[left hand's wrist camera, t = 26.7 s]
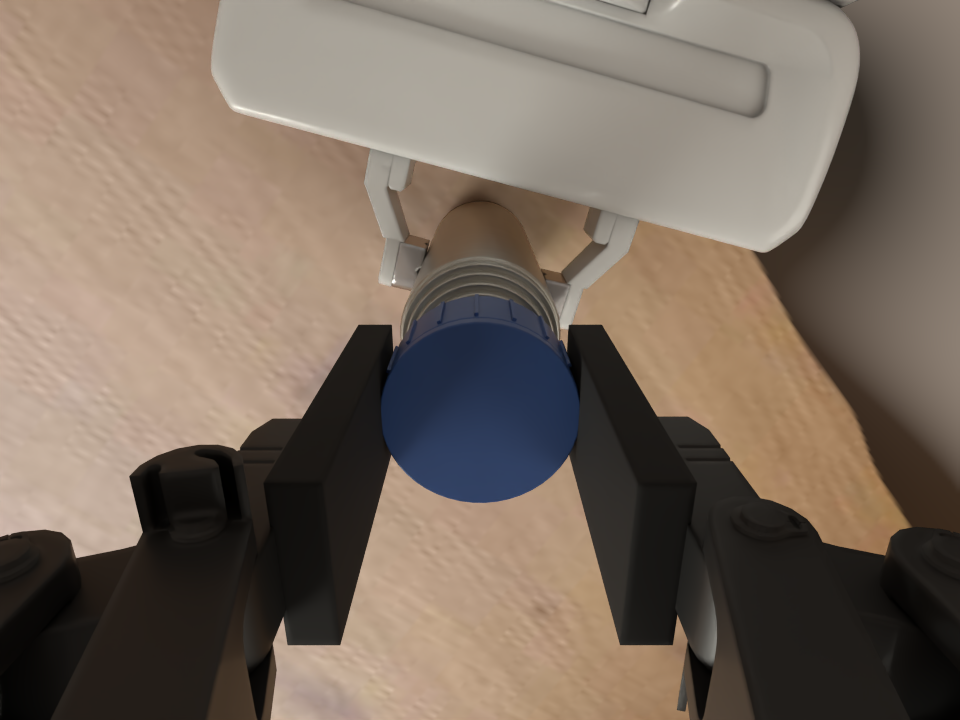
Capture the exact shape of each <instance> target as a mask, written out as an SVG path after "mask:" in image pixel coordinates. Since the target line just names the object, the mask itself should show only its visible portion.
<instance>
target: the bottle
mask: <svg viewBox="0 0 960 720" xmlns="http://www.w3.org/2000/svg"><path fill="white" fill-rule="evenodd" d="M475 294H479V296H490V297H497V298H502V299H505V300H510V299H513V301H514V302H515V303H517V304H519V305H522V306H524V307H525V308H527V309H529V310H531V311H532V312H534V313H535V314H536V315H537V316H540V315H541V316H542V317H543V319H544V322H545V323H546V324H547V325H548V326H549V327H550V328H551V329H552V331H553V332H554V333H555V335H556V336H557V338H558V340H559V341H560V322H559V316H558V312H557V309H556V306H555V304H554V301H553V299H552V296H551V294H550V291H549V289H548V287H547V284H546V282H545V279H544V277H543V274H542V272H541V270H540V267H539V265H538V262H537V260H536V257H535V255H534V253H533V250H532V248H531V245H530V243H529V240H528V238H527V236H526V233H525V231H524V229H523V227H522V225H521V223H520V222H519V220H518V219H517V218H516V217H515V216H514V215H513V214H512V213H511V212H510V211H508V210H507V209H506V208H504V207H502V206H500V205H498V204H495V203H491V202H485V201H476V202H470V203H466V204H463V205H461V206H459V207H457V208H455V209H454V210H452V211H451V212H449V213H448V214H447V215H446V216H445V217H444V219H443V220H442V221H441V223H440V224H439V226H438V228H437V230H436V232H435V235H434V237H433V239H432V242H431V244H430V247H429V249H428V252H427V254H426V257H425V259H424V261H423V264H422V266H421V269H420V271H419V273H418V276H417V278H416V281H415V283H414V285H413V288H412V290H411V293H410V295H409V298H408V300H407V302H406V305H405V308H404V311H403V314H402V319H401V325H400V338H401V341H402V339H403V337H404V336H405V334H406V333H407V331H408V330H409V329H410V328H411V325H412V322H413V321H414V320H416V321H417V320H418V319H419V318H420V317H422V316H423V315H424V314H426V313H427V312H428V311H430V310H432V309H433V308H435V307H437V306H439V305H440V304H441V302H443V301H444V302H445V303H446V302H449V301H451V300H455V299H459V298H463V297H472V296H475Z"/></svg>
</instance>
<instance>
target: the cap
mask: <svg viewBox="0 0 960 720" xmlns="http://www.w3.org/2000/svg"><path fill="white" fill-rule="evenodd" d="M571 366H572V365H571V362H570V359H569V357H568V354H567V352H566V349H565V346H564V344H563V341H562V340H561V341H559V340H558V338H557V336H556V335H555V333H554V332H553V331H552V329H551V328H550V327H549V326H548V325H547V324H546V323H545V322H544V319H543V317H542V316H541V315H540V316H537V315H536V314H535V313H534V312H532V311H531V310H529V309H527V308H525V307H524V306H522V305H519V304H517V303H515V302H514V301H513V299H510V300H505V299H502V298H497V297H490V296H479V294H475V296H472V297H463V298H459V299H455V300H451V301H449V302H446V303H445V302H444V301H443V302H441V304H440V305H439V306H437V307H435V308H433V309H432V310H430V311H428V312H427V313H426V314H424V315H423V316H422V317H420V318H419V319H418V320H417V321H416V320H414V321H413V322H412V325H411V328H410V329H409V330H408V331H407V333H406V334H405V336H404V337H403V339H402V341H401V342H400V344H399V347H398V346H396V347H395V349H394V352H393V354H392V357H391V360H390V362H389V365H388V368H387V370H386V373H388V376H387V379H386V382H385V384H384V387H383V391H382V395H381V416H382V431H383V437H384V439H385V442H386V445H387V447H388V449H389V451H390V453H391V455H392V456H393V458H394V459H395V461H396V462H397V463H398V465H399V466H400V467H401V468H402V469H403V470H404V472H405V473H406V474H407V475H408V476H410V477H411V478H412V479H413V480H414V481H416V482H417V483H418V484H420V485H421V486H423V487H425V488H426V489H428V490H430V491H432V492H434V493H436V494H438V495H441V496H444V497H447V498H450V499H454V500H458V501H464V502H472V503H487V502H497V501H502V500H507V499H511V498H514V497H517V496H520V495H522V494H524V493H526V492H529V491H531V490H533V489H534V488H536V487H538V486H539V485H541V484H542V483H544V482H545V481H546V480H547V479H549V478H550V477H551V476H552V475H553V474H554V473H555V472H556V471H557V470H558V469H559V468H560V467H561V465H562V464H563V463H564V461H565V460H566V459H567V457H568V455H569V454H570V452H571V450H572V448H573V446H574V444H575V441H576V438H577V435H578V423H579V407H580V397H579V393H578V389H577V386H576V383H575V380H574V378H573V375H572V372H571V369H570V367H571Z"/></svg>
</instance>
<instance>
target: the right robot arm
mask: <svg viewBox="0 0 960 720" xmlns="http://www.w3.org/2000/svg"><path fill="white" fill-rule="evenodd" d="M855 1H857V0H220V3H219V8H218V14H217V20H216V26H215V33H214V40H213V47H212V56H211V72H212V75H213V78H214V80H215V82H216V84H217V86H218V88H219V89H220V91H221V93H222V95H223V97H224V99H225V100H226V102H227V104H228V105H229V107H230V108H231V109H232V110H233V111H235V112H237V113H240V114H244V115H247V116H251V117H255V118H259V119H262V120H266V121H270V122H274V123H277V124H281V125H285V126H289V127H292V128H296V129H300V130H304V131H307V132H311V133H315V134H319V135H322V136H326V137H330V138H334V139H337V140H341V141H345V142H349V143H352V144H356V145H360V146H364V147H367V148H370V152H369V158H368V164H367V169H366V175H365V180H364V184H365V187H366V190H367V192H368V195H369V198H370V201H371V204H372V207H373V210H374V213H375V216H376V218H377V221H378V224H379V227H380V230H381V233H382V236H383V237H384V238H386V243H385V248H384V253H383V258H382V263H381V268H380V273H379V283H380V284H383V285H387V286H390V287H391V286H392V287H396V288H400V289H405V290H409V291H411V290H412V288H413V285H414V283H415V281H416V278H417V276H418V273H419V271H420V269H421V266H422V264H423V261H424V259H425V257H426V254H427V250H428V246H429V241H430V240H427V239H424V238H420V237H416V236H413V235H409V234H410V233H409V230H408V227H407V223H406V220H405V217H404V213H403V210H402V207H401V203H400V200H399V197H398V193H397V191H402V190H403V189H405V188H406V187H407V186H408V185H410V184H411V180H412V175H413V171H414V166H415V162H416V161H420V162H424V163H427V164H431V165H435V166H439V167H442V168H446V169H450V170H454V171H457V172H461V173H465V174H469V175H472V176H476V177H480V178H484V179H488V180H491V181H495V182H499V183H503V184H506V185H510V186H514V187H518V188H521V189H525V190H529V191H533V192H536V193H540V194H544V195H548V196H551V197H555V198H559V199H563V200H566V201H570V202H574V203H578V204H581V205H585V206H589V207H590V209H589V212H588V215H587V219H586V222H585V226H584V231H585V233H586V234H587V235H588V236H589V237H590V238H591V239H592V240H593V241H592V242H591V243H590V244H589V245H588V246H587V247H586V248H585V249H584V250H583V251H582V252H581V253H580V254H579V255H578V256H577V257H576V258H575V259H574V260H573V261H572V262H571V263H570V264H569V265H568V266H567V267H566V268H565V269H564V270H563V271H562V272H561V273H558V272H554V271H549V270H545V269H541V272H542V274H543V277H544V279H545V282H546V284H547V287H548V289H549V291H550V294H551V296H552V299H553V301H554V304H555V306H556V309H557V312H558V316H559V322H560V328H561V329H565V330H568V328H569V325H572V322H573V319H574V316H575V313H576V310H577V307H578V304H579V301H580V298H581V295H582V292H583V289H584V288H585V289H587V288H589V287H590V286H591V285H592V284H593V283H594V282H595V281H596V280H597V279H599V278H600V277H601V276H602V275H603V274H604V273H605V272H606V271H608V270H609V269H610V268H611V267H612V266H613V265H614V264H615V263H616V262H618V261H619V260H620V259H621V258H622V257H623V256H624V255H625V254H626V253H628V251H629V248H630V245H631V242H632V239H633V237H634V234H635V231H636V228H637V225H638V222H639V220H641V221H645V222H649V223H653V224H656V225H660V226H664V227H668V228H671V229H675V230H679V231H683V232H686V233H690V234H694V235H698V236H701V237H705V238H709V239H713V240H716V241H720V242H724V243H728V244H731V245H735V246H739V247H743V248H747V249H750V250H754V251H758V252H768V251H770V250H772V249H773V248H775V247H777V246H778V245H780V244H781V243H783V242H784V241H785V240H787V239H788V238H789V237H791V236H792V235H794V234H795V233H796V232H797V231H798V230H799V229H800V228H801V227H802V225H803V224H804V222H805V220H806V219H807V217H808V215H809V213H810V211H811V209H812V206H813V204H814V202H815V200H816V197H817V195H818V193H819V190H820V188H821V186H822V183H823V181H824V178H825V176H826V173H827V171H828V168H829V166H830V163H831V160H832V158H833V155H834V152H835V149H836V147H837V144H838V141H839V138H840V135H841V132H842V129H843V127H844V123H845V120H846V117H847V114H848V111H849V108H850V105H851V101H852V98H853V95H854V91H855V87H856V83H857V79H858V72H859V65H860V47H859V40H858V36H857V33H856V30H855V27H854V25H853V23H852V22H851V20H850V19H849V17H848V16H847V15H846V14H845V13H844V11H842V10H841V9H840V8H842V7H844V6H847V5H849V4H851V3H853V2H855Z"/></svg>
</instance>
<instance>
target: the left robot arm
mask: <svg viewBox="0 0 960 720" xmlns="http://www.w3.org/2000/svg"><path fill="white" fill-rule="evenodd" d="M392 354H393V339H392V325H358V327H357V328H356V330H355V332H354V333H353V335H352V337H351V338H350V340H349V342H348V343H347V345H346V347H345V348H344V350H343V352H342V353H341V355H340V357H339V358H338V360H337V362H336V363H335V365H334V366H333V368H332V370H331V371H330V373H329V375H328V376H327V378H326V380H325V381H324V383H323V385H322V386H321V388H320V390H319V391H318V393H317V395H316V396H315V398H314V400H313V401H312V403H311V405H310V406H309V408H308V410H307V411H306V413H305V415H304V416H303V418H302V419H271V420H270V421H268V422H267V423H265V424H264V425H262V426H260V427H259V428H257V429H256V430H254V431H252V432H251V434H250V435H249V436H248V438H247V439H246V440H245V442H244V443H243V444H242V446H241V447H240V450H238V451H236V450H235V449H233V448H229V447H225V446H221V445H195V446H190V447H184V448H179V449H175V450H172V451H169V452H166V453H164V454H161V455H158V456H156V457H154V458H152V459H150V460H149V461H147V462H145V463H143V464H142V465H140V466H139V467H138V468H137V469H136V470H135V471H134V472H133V473H132V474H131V475H130V476H129V477H130V481H131V485H132V489H133V494H134V498H135V502H136V506H137V510H138V514H139V518H140V522H141V527H142V531H143V533H142V535H141V537H140V539H139V541H138V543H137V545H136V546H133V547H129V548H125V549H121V550H115V551H110V552H105V553H100V554H95V555H90V556H85V557H80V558H76V557H75V553H74V550H73V547H72V543H71V540H70V539H69V538H67V537H66V536H65V535H64V534H63V533H61V532H55V531H50V530H36V531H25V532H18V533H13V534H11V535H9V536H8V535H5V536H2V537H0V720H270V718H271V710H272V702H273V694H274V686H275V678H276V662H275V655H274V649H273V641H274V638H275V636H276V633H277V631H278V628H279V626H280V623H281V621H282V618H283V617H284V624H285V631H286V637H287V644H288V645H340V644H341V640H342V636H343V633H344V629H345V625H346V622H347V618H348V614H349V610H350V607H351V603H352V599H353V595H354V592H355V588H356V584H357V580H358V577H359V573H360V569H361V566H362V562H363V558H364V554H365V551H366V547H367V543H368V539H369V536H370V532H371V528H372V524H373V521H374V517H375V513H376V510H377V506H378V502H379V498H380V495H381V491H382V487H383V483H384V480H385V476H386V472H387V469H388V465H389V461H390V457H391V453H390V451H389V449H388V447H387V445H386V442H385V439H384V437H383V431H382V416H381V395H382V391H383V387H384V384H385V382H386V379H387V376H388V373H386V370H387V368H388V365H389V362H390V360H391V357H392ZM567 354H568V357H569V359H570V362H571V365H572V366H571V367H570V369H571V372H572V375H573V378H574V380H575V383H576V386H577V389H578V393H579V397H580V407H579V423H578V435H577V438H576V441H575V444H574V446H573V448H572V450H571V452H570V454H569V456H570V460H571V463H572V467H573V471H574V475H575V478H576V482H577V486H578V489H579V493H580V497H581V501H582V504H583V508H584V512H585V516H586V519H587V523H588V527H589V530H590V534H591V538H592V542H593V545H594V549H595V553H596V557H597V560H598V564H599V568H600V571H601V575H602V579H603V583H604V586H605V590H606V594H607V598H608V601H609V605H610V609H611V612H612V616H613V620H614V624H615V627H616V631H617V635H618V639H619V642H620V645H673V640H674V633H675V627H676V620H677V614H678V617H679V619H680V622H681V624H682V627H683V629H684V632H685V634H686V637H687V639H688V643H687V649H686V655H685V661H684V667H683V674H682V680H681V686H680V692H679V699H678V706H677V710H680V711H685V710H686V704H687V701H688V709H689V717H690V720H960V534H959V533H956V532H953V533H952V532H950V531H948V530H943V529H934V528H923V527H913V528H907V529H901V530H899V531H898V532H897V533H895V534H894V535H893V536H892V537H891V538H890V542H889V545H888V549H887V552H886V555H885V556H884V555H879V554H874V553H869V552H864V551H859V550H854V549H849V548H844V547H839V546H835V545H831V544H827V543H823V542H822V540H821V538H820V536H819V534H818V532H817V531H816V530H815V528H814V527H813V526H812V525H811V523H810V522H809V521H808V520H807V519H806V518H804V517H803V516H801V515H800V514H798V513H797V512H795V511H794V510H792V509H791V508H788V507H786V506H783V505H781V504H778V503H776V502H774V501H771V500H766V499H761V498H760V497H759V496H758V495H757V493H756V492H755V491H754V489H753V488H752V487H751V485H750V484H749V483H748V481H747V480H746V479H745V477H744V476H743V475H742V473H741V472H740V471H739V469H738V468H737V467H736V465H735V464H734V463H733V461H730V457H729V456H728V455H727V453H726V452H725V451H724V449H723V448H721V447H720V444H719V443H718V441H717V440H716V439H715V437H714V436H713V435H712V433H711V432H710V431H709V430H708V429H707V428H705V427H704V426H702V425H700V424H699V423H697V422H696V421H694V420H692V419H691V418H689V417H657V415H656V414H655V412H654V410H653V409H652V407H651V405H650V404H649V402H648V401H647V399H646V397H645V396H644V394H643V392H642V391H641V389H640V387H639V386H638V384H637V382H636V381H635V379H634V377H633V376H632V374H631V372H630V371H629V369H628V367H627V366H626V364H625V362H624V361H623V359H622V357H621V356H620V354H619V353H618V351H617V349H616V348H615V346H614V344H613V343H612V341H611V339H610V338H609V336H608V334H607V333H606V331H605V329H604V328H603V326H602V325H569V328H568V346H567Z"/></svg>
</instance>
